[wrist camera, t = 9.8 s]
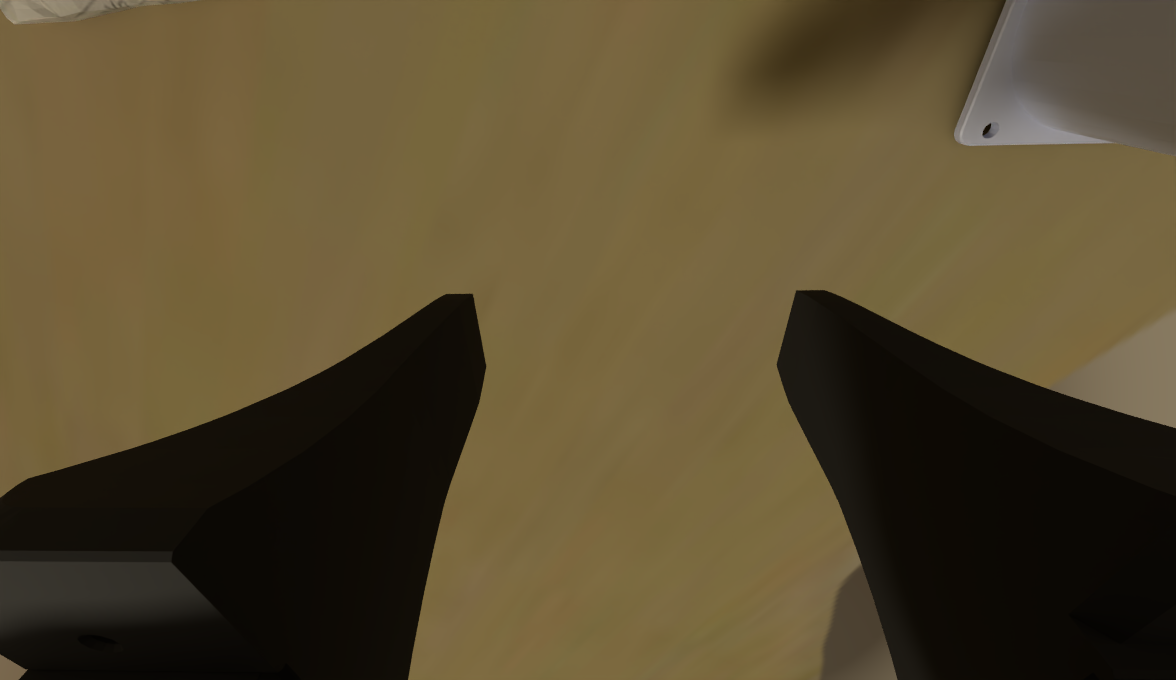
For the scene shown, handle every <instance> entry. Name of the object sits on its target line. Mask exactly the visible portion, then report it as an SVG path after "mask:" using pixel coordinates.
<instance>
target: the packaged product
mask: <svg viewBox="0 0 1176 680" xmlns="http://www.w3.org/2000/svg"><path fill="white" fill-rule="evenodd" d="M191 1H198V0H0V9H1V10H2V12H3V13H4V15H5V16H6V18H7V19H9V20H10V21H11V22H12V23H14V24H31V23H49V22H67V21H79V20H84V19H88V18H93V17H97V16H101V15H106V14H110V13H114V12H119V11H123V10H127V9H132V8H136V7H140V6H145V5H160V4H175V3H184V2H191Z"/></svg>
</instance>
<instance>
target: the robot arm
mask: <svg viewBox="0 0 1176 680" xmlns="http://www.w3.org/2000/svg"><path fill="white" fill-rule="evenodd" d="M990 123H991V128H990V130H989V131H988V133H986V134H985V135H982V133H983V130H984V128H985V127H986V126H987V125H988V124H990ZM954 137H955V140H956V141H957V142H958V143H960V144H964V145H968V146H977V145H1031V144H1085V143H1118V144H1123V145H1127V146H1132V147H1136V148H1141V149H1145V150H1150V151H1154V152H1159V153H1163V154H1168V155H1172V156H1176V0H1006V2H1005V5H1004V7H1003V10H1002V12H1001V15H1000V17H999V20H998V23H997V25H996V28H995V30H994V33H993V35H992V38H991V40H990V43H989V45H988V48H987V50H986V53H985V55H984V58H983V60H982V63H981V65H980V68H979V70H978V73H977V75H976V78H975V81H974V83H973V86H972V88H971V91H970V93H969V96H968V98H967V101H966V103H965V106H964V108H963V111H962V113H961V116H960V118H959V121H958V123H957V126H956V128H955V133H954ZM777 368H778V371H779V374H780V378H781V381H782V384H783V387H784V390H785V393H786V396H787V399H788V402H789V404H790V406H791V408H792V410H793V412H794V414H795V416H796V418H797V420H798V422H799V424H800V426H801V428H802V430H803V432H804V434H805V436H806V438H807V440H808V442H809V444H810V446H811V448H812V449H813V451H814V453H815V455H816V457H817V459H818V461H819V463H820V465H821V467H822V469H823V471H824V473H825V475H826V477H827V479H828V481H829V483H830V485H831V487H832V489H833V491H834V493H835V496H836V498H837V500H838V502H839V504H840V507H841V509H842V512H843V515H844V517H845V520H846V523H847V525H848V528H849V531H850V533H851V536H852V539H853V541H854V544H855V546H856V549H857V552H858V555H859V558H860V561H861V564H862V567H863V569H864V572H865V575H866V578H867V581H868V584H869V587H870V590H871V593H872V595H873V599H874V602H875V605H876V608H877V612H878V615H879V618H880V621H881V624H882V628H883V631H884V634H885V638H886V641H887V644H888V647H889V650H890V654H891V657H892V661H893V664H894V668H895V672H896V675H897V679H898V680H1176V428H1173V427H1169V426H1166V425H1162V424H1159V423H1155V422H1152V421H1148V420H1144V419H1141V418H1138V417H1134V416H1131V415H1127V414H1124V413H1121V412H1117V411H1114V410H1111V409H1108V408H1105V407H1101V406H1098V405H1095V404H1092V403H1089V402H1085V401H1083V400H1079V399H1076V398H1073V397H1070V396H1067V395H1064V394H1061V393H1058V392H1055V391H1052V390H1049V389H1047V388H1044V387H1041V386H1038V385H1035V384H1033V383H1030V382H1028V381H1025V380H1022V379H1020V378H1017V377H1014V376H1012V375H1009V374H1006V373H1004V372H1001V371H999V370H996V369H993V368H991V367H989V366H986V365H984V364H981V363H979V362H976V361H974V360H972V359H969V358H967V357H965V356H963V355H961V354H958V353H956V352H954V351H952V350H949V349H947V348H945V347H943V346H941V345H938V344H936V343H934V342H932V341H930V340H928V339H926V338H924V337H922V336H919V335H917V334H915V333H913V332H911V331H909V330H907V329H905V328H903V327H901V326H899V325H897V324H895V323H893V322H891V321H889V320H887V319H885V318H883V317H881V316H879V315H877V314H876V313H874V312H872V311H870V310H868V309H866V308H864V307H862V306H860V305H858V304H856V303H853V302H851V301H849V300H847V299H845V298H843V297H841V296H838V295H836V294H833V293H831V292H828V291H825V290H804V291H796V293H795V297H794V301H793V305H792V308H791V312H790V316H789V320H788V323H787V327H786V331H785V335H784V339H783V342H782V346H781V350H780V354H779V357H778V361H777ZM485 370H486V363H485V357H484V352H483V346H482V341H481V336H480V330H479V325H478V319H477V314H476V309H475V303H474V298H473V294H445V295H444V296H442V297H440V298H438V299H436V300H435V301H433V302H432V303H430V304H429V305H427V306H426V307H424V308H423V309H421V310H420V311H418V312H417V313H415V314H414V315H412V316H411V317H410V318H408V319H407V320H405V321H404V322H402V323H401V324H399V325H398V326H396V327H395V328H393V329H392V330H390V331H389V332H387V333H386V334H384V335H383V336H381V337H380V338H378V339H376V340H375V341H373V342H372V343H370V344H368V345H367V346H365V347H364V348H362V349H360V350H359V351H357V352H355V353H354V354H352V355H351V356H349V357H347V358H346V359H344V360H342V361H341V362H339V363H337V364H335V365H334V366H332V367H330V368H328V369H326V370H324V371H322V372H321V373H319V374H317V375H315V376H313V377H311V378H309V379H307V380H305V381H303V382H301V383H299V384H297V385H295V386H293V387H291V388H289V389H286V390H284V391H282V392H280V393H277V394H275V395H273V396H270V397H268V398H266V399H263V400H261V401H259V402H256V403H254V404H252V405H249V406H247V407H245V408H242V409H240V410H238V411H235V412H233V413H231V414H228V415H226V416H223V417H221V418H218V419H215V420H213V421H210V422H207V423H205V424H202V425H199V426H196V427H194V428H191V429H188V430H185V431H182V432H180V433H177V434H174V435H171V436H168V437H165V438H162V439H159V440H156V441H153V442H150V443H147V444H144V445H141V446H138V447H135V448H132V449H129V450H125V451H122V452H118V453H115V454H112V455H108V456H105V457H101V458H98V459H95V460H91V461H88V462H84V463H81V464H78V465H74V466H71V467H67V468H64V469H61V470H57V471H54V472H50V473H47V474H43V475H39V476H35V477H32V478H28V479H27V480H25V481H23V482H21V483H20V484H18V485H17V486H15V487H14V488H13V489H11V490H10V491H9V492H7V493H6V494H5V495H3V496H2V497H1V498H0V654H1V655H2V656H4V657H6V658H7V659H9V660H11V661H13V662H14V663H16V664H18V665H19V666H21V667H23V668H24V669H28V670H27V671H26V672H25V673H24V675H23V676H22V677H21V678H20V679H19V680H408V676H409V670H410V664H411V658H412V653H413V647H414V642H415V637H416V632H417V626H418V621H419V616H420V611H421V606H422V600H423V595H424V590H425V586H426V581H427V576H428V572H429V567H430V563H431V558H432V553H433V549H434V544H435V540H436V536H437V532H438V528H439V523H440V519H441V515H442V511H443V507H444V503H445V499H446V496H447V493H448V490H449V486H450V483H451V481H452V478H453V475H454V472H455V469H456V467H457V464H458V461H459V458H460V455H461V453H462V450H463V447H464V444H465V441H466V439H467V436H468V433H469V430H470V427H471V425H472V422H473V419H474V416H475V413H476V410H477V407H478V404H479V400H480V396H481V391H482V386H483V381H484V375H485Z"/></svg>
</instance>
